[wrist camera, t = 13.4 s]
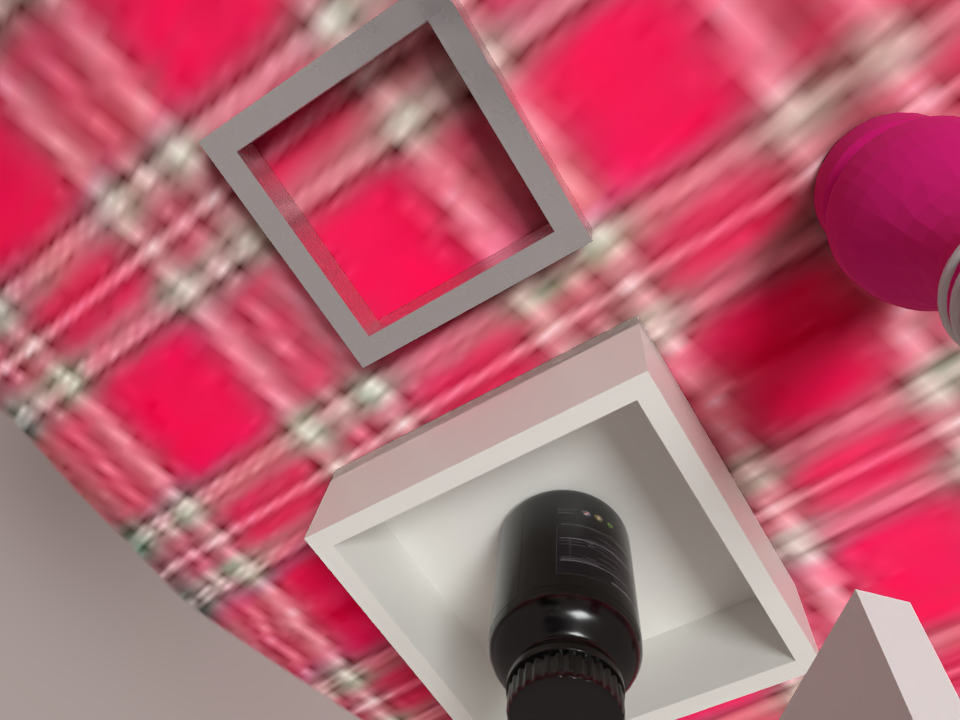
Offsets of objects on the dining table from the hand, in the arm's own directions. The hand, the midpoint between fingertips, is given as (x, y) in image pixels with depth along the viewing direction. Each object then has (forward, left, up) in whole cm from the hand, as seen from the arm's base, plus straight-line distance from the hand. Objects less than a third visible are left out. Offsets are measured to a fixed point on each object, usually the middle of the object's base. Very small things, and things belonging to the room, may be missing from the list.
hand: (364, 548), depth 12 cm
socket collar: (-1, -5, -28) cm, 29 cm away
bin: (+19, -8, -28) cm, 35 cm away
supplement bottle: (+19, -8, -28) cm, 34 cm away
